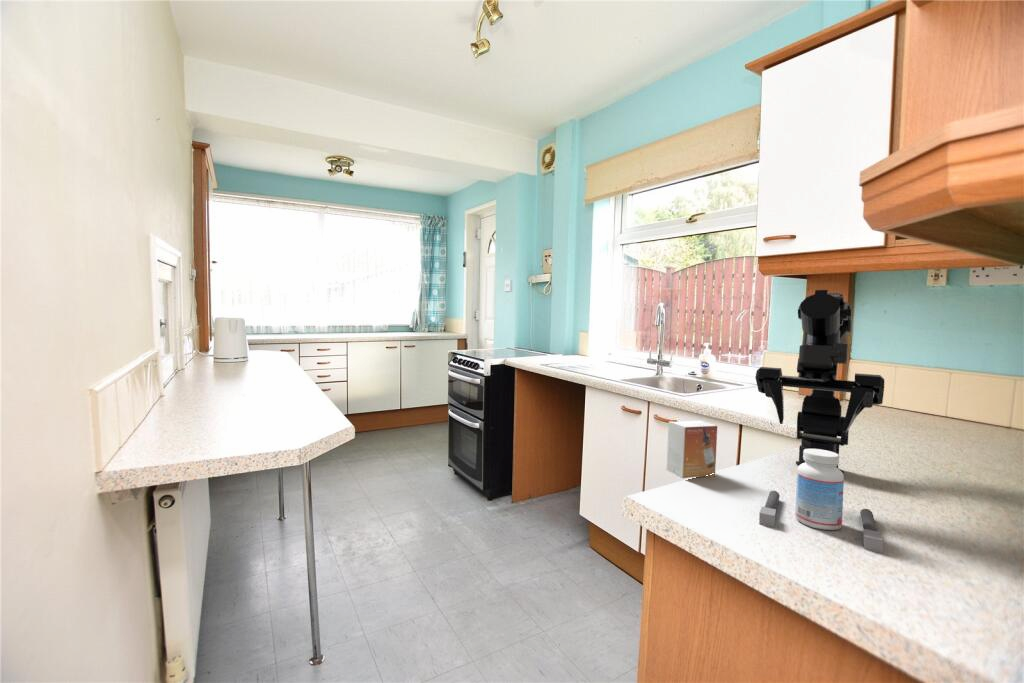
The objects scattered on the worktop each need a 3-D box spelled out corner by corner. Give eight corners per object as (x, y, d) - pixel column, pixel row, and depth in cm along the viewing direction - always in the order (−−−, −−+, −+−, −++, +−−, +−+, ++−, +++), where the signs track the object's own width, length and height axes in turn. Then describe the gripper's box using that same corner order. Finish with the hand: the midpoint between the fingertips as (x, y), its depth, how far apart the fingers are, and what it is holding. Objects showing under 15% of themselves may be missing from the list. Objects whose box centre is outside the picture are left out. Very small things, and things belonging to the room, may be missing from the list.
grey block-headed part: (858, 516, 74) (858, 506, 74) (874, 520, 73) (874, 509, 73) (864, 549, 63) (865, 536, 63) (882, 553, 62) (883, 540, 62)
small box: (682, 479, 90) (684, 427, 90) (665, 470, 96) (667, 420, 95) (716, 476, 92) (718, 425, 92) (698, 467, 98) (700, 419, 97)
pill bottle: (849, 533, 68) (853, 459, 67) (804, 529, 69) (808, 456, 69) (830, 517, 74) (833, 448, 73) (788, 513, 75) (792, 445, 75)
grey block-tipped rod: (767, 498, 81) (768, 488, 81) (780, 500, 80) (781, 490, 80) (759, 524, 71) (759, 512, 71) (774, 527, 69) (774, 515, 69)
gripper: (758, 324, 85) (745, 397, 78) (887, 327, 73) (885, 412, 67) (764, 357, 92) (753, 426, 85) (883, 364, 81) (880, 444, 74)
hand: (811, 427), depth 78 cm, fingers open, 9 cm apart
